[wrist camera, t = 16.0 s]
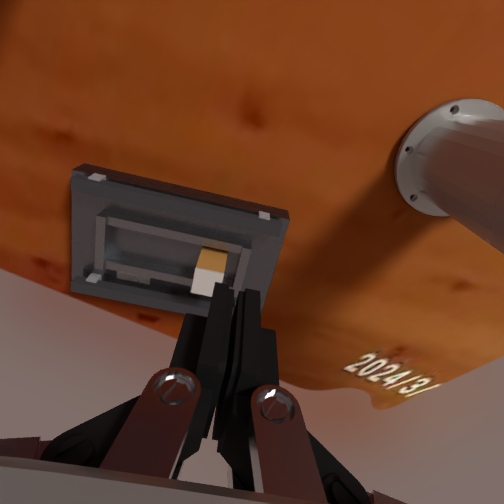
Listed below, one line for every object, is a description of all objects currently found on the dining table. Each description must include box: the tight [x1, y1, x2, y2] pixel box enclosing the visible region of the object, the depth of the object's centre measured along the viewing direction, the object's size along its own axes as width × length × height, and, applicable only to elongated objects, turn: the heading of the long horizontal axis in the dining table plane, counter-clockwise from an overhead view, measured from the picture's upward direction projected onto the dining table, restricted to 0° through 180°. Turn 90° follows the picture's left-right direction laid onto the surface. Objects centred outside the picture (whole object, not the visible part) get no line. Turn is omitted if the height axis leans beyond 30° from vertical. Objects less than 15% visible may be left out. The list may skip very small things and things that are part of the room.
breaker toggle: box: [191, 246, 228, 297], centre depth 38 cm, size 3×3×5 cm
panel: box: [72, 163, 290, 312], centre depth 41 cm, size 24×14×5 cm, turn 77°
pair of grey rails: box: [71, 173, 283, 317], centre depth 40 cm, size 22×14×2 cm, turn 77°
